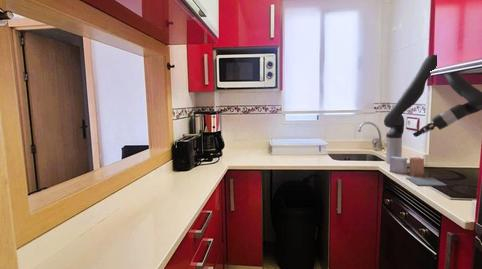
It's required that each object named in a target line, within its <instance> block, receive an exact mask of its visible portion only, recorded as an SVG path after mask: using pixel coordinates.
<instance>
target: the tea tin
mask: <svg viewBox="0 0 482 269" xmlns="http://www.w3.org/2000/svg"><path fill="white" fill-rule="evenodd" d="M424 162H425V158H422V157H418V156H417V157H409V174H408V175H409V176H411V177H412V176H413V177H412V178H424V169H425V168H424V166H425V163H424Z"/></svg>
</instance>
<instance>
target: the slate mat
mask: <svg viewBox="0 0 482 269" xmlns="http://www.w3.org/2000/svg"><path fill="white" fill-rule="evenodd" d="M405 180H408V181H409V182H411V183H412V184H414V185H415V186H419V187H420V186H421V187H428V186H429V187H447V184H445V183H444V182H442V181H440V180H438V179H436V178H434V177H405Z"/></svg>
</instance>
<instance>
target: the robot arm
mask: <svg viewBox="0 0 482 269" xmlns="http://www.w3.org/2000/svg"><path fill="white" fill-rule="evenodd" d="M437 55H438V54H430V55H428V56H427V57H426V58H425V59H424V60H423V61H422V63H421V66H420V67H419V69H418V70H417V73H416V74H415V76H414V77H413V79H412V80H411V82H410V83H409V85H408V86H407V87H406V89H405V90H404V91H403V92H402V95H401V96H400V98H399V99H398V100H397V102H395V103H396V104H394V106H393V107H392V109H391V110H390V111H389V112H388V113H387V114H386V115H385V117H384V120H383V124H384V126H385V127H387V128H390V129H389V131H387V133H386V136H385V141H386V142H385V147H386V148H385V149H386V150H385V162H386V163H388V164H390V158H391V157H402V154H403V152H402V147H403V134H404V130H405V118H404V116H403V114H404V112H406V111H407V110H409V109H410V108H411V107H413V106H414V105H415V104H416V103H417V102H418V101H419V99H420V98H421V97H422V96H423V94H424V91H425V88H426V83H427V80H428V79H429V78H430V77H431V75H432V74H431V73H430V71H432V70H434V69H435V68H436V66H437ZM442 76H443V77H444V78H445V79H446V81H447V82H448V85H449V86H450V88H451V89H452V90H453V91H454V92H456V94H457V95H458V96H460V97H462V98H463V99H465V100H466V101H467V102H466V103H463V104H456V105H454V106H453V107H451V108H449V109H446V110H444V111H443V112H441V113H439V114H437V115H435V116H433V117H432V118H431V121H432V122H431V123H430V122H429V123H427V124H426V125H424V126H422V127H420V128H419V129H418V130H416V131H415V132H413V133H412V135H413V136H414V137H416V138H417V137H420V136H421V135H424V134H426V133H429V132H431V131H432V132H433V131H434V130H435V128H437V129H438V130H440V131H441V130H442V129H445V128H447V127H449V126H451V125H452V124H454V123H456V122H457V121H459V120H461V119H463V118H465V117H466V116H469V115H470V116H471V115H472V114H475V113H479V112H481V111H482V91H481V90H480V89H479V88H477V87H474V86H473V84H471V83H470V82H469V81H468V80H467V79H466V78H464V77H463V76H462V75H461V74H460V73H459V72H458V73H451V74H444V75H442Z"/></svg>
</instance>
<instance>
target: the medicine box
mask: <svg viewBox="0 0 482 269" xmlns="http://www.w3.org/2000/svg"><path fill="white" fill-rule="evenodd" d="M407 160H408V159H407V157H402V156H401V157H391V158H390V163H389V172H390V173H392V172H393V173H397V174H406V173H407V170H408V168H407V166H408V164H407V163H408V161H407Z"/></svg>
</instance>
